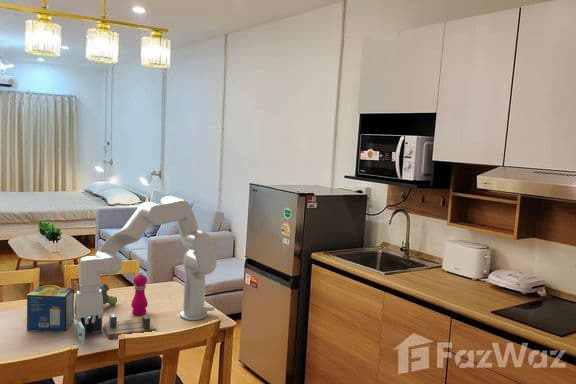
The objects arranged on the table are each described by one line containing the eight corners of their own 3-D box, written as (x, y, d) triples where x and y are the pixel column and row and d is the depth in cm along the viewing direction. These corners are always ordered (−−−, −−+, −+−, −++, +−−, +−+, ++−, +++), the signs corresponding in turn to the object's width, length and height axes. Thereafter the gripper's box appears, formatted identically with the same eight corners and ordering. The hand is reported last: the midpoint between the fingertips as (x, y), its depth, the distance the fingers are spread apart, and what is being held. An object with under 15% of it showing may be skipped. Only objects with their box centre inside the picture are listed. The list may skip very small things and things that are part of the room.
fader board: (149, 321, 212) (150, 307, 211) (155, 333, 200) (156, 318, 200) (104, 327, 203) (104, 312, 202) (107, 339, 192) (108, 323, 191)
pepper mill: (141, 309, 226) (142, 268, 224) (150, 313, 221) (151, 272, 219) (128, 313, 220) (129, 271, 218) (136, 317, 216) (138, 275, 214)
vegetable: (123, 305, 224) (94, 296, 214) (106, 319, 228) (78, 311, 219) (122, 284, 232) (95, 275, 223) (107, 298, 237) (79, 289, 227)
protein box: (37, 321, 205) (37, 286, 203) (74, 322, 206) (74, 288, 204) (25, 331, 194) (26, 294, 193) (64, 332, 196) (65, 296, 194)
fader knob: (115, 323, 202) (115, 313, 202) (116, 326, 199) (116, 316, 198) (109, 324, 201) (109, 313, 201) (110, 327, 198) (110, 317, 197)
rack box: (99, 324, 205) (100, 309, 205) (102, 332, 197) (102, 316, 197) (77, 327, 201) (77, 311, 201) (78, 335, 193) (78, 319, 193)
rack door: (84, 343, 186) (85, 328, 185) (79, 344, 185) (79, 329, 184) (79, 334, 194) (80, 319, 193) (74, 335, 192) (74, 320, 192)
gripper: (106, 282, 194) (106, 325, 196) (67, 287, 185) (66, 332, 187) (111, 287, 188) (111, 332, 190) (71, 293, 179) (70, 339, 181)
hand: (89, 332), depth 189 cm, fingers closed
